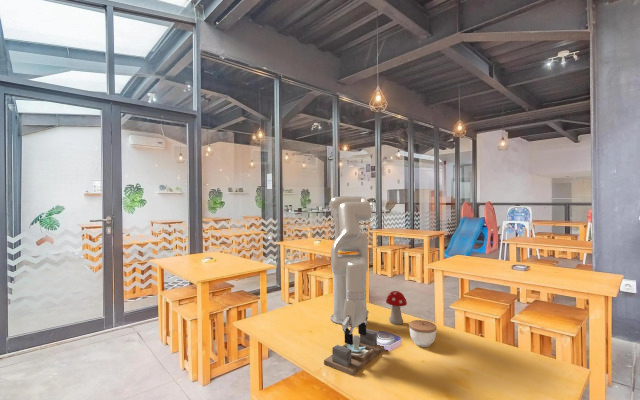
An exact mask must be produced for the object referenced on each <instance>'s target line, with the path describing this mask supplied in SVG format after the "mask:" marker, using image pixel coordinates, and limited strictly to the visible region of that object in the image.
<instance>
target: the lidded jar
mask: <svg viewBox="0 0 640 400" xmlns="http://www.w3.org/2000/svg"><path fill="white" fill-rule="evenodd" d="M408 327H409V335H410V339H411V340H412V341H413V342H414V344H415V345H416V346H417V347H422V348H428V347H430V346H431V345H432V344H433V343H434V342H435V340H436V338H437V327H438V326H437V325H436V324H435V323H434V322H432V321H429V320H423V319H416V320H411V321H409V324H408Z"/></svg>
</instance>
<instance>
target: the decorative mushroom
mask: <svg viewBox="0 0 640 400" xmlns="http://www.w3.org/2000/svg"><path fill="white" fill-rule="evenodd" d="M385 301H386V304H388V305H390V306H391V311H390V316H389V318H388V320H389V323H391V324H392V325H398V326H399V325H400V326H401V325H403V323H404V320H403V317H402V315H403V314H402V311H401V307H405V306H407V299H406V297H405V296H404V294H403V293H402V292H400V291H399V290H398V291H397V290H393V291H392V290H391V292H389V293H388V295H387V297H386V298H385Z"/></svg>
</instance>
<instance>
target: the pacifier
mask: <svg viewBox="0 0 640 400" xmlns="http://www.w3.org/2000/svg"><path fill="white" fill-rule="evenodd" d="M359 342H360V335H358V334H355V335H354V334H353V344H352V345H349V344H347V348H349V349H351V352H352V353H351V354H354V353H355V354H354V355H357V356H361V355H362V354H363V353H362V352H361V351H362V350H364V349H365V348H366V347H359ZM351 346H352V347H351Z"/></svg>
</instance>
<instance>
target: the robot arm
mask: <svg viewBox="0 0 640 400" xmlns="http://www.w3.org/2000/svg"><path fill="white" fill-rule="evenodd" d="M329 209H330V213H331V216H332V219H333V222H334V242H333V243H332V246H331V249H330V264H331V271H332V274H333V314H331V316H330V321H332V322H333V323H335V324H339V325H341V327H342V331H343V333H344V343H345V344H346V343H347V344H349V345H352V344H353V336H354V334H353V331H354V329H355V328H357V327H358V330H357V331H358V334H359V335H360V334H361V335H364V336H365V335H366V329H367V324H368V321H367V320H368V318H369V310H368V309H367V273H368V271H369V241H368V240H369V239H368V236H367V235H366V233H364V232H363V231H361V228H360V221H361V222H366V221H369V220H371V218H372V215H373V214H372V213H373V212H372V207H371V204H370V202H369V201H368V199H367V198H366V197H365V196H343V195H342V196H333V197H332V198H331V200H329ZM338 252H343V253H344V254H339V253H338ZM345 252H346V254H345ZM347 252H348V253H350V252H351V254H347ZM352 252H354V253H355V252H356V253H357V254H356V253H355V254H352ZM349 328H350V329H349Z"/></svg>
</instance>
